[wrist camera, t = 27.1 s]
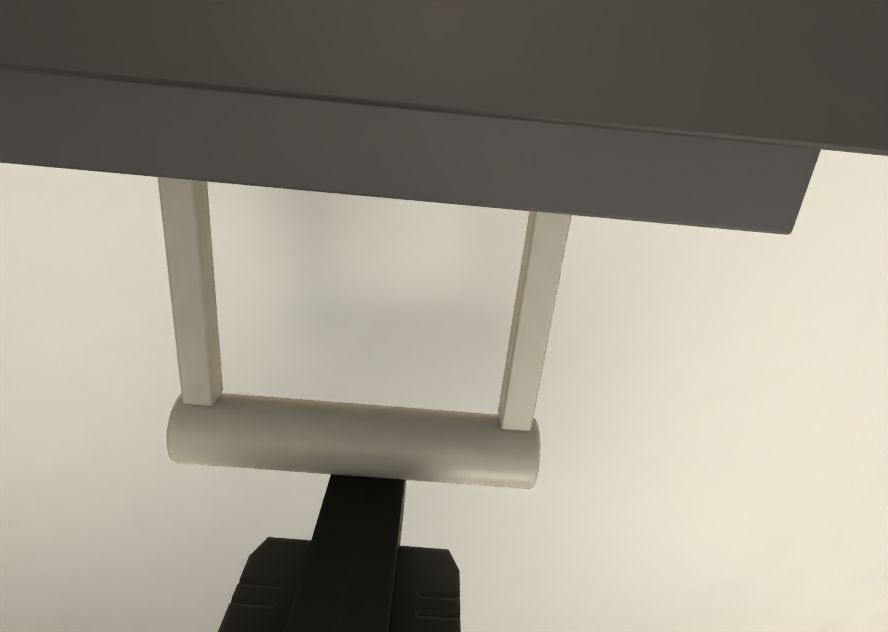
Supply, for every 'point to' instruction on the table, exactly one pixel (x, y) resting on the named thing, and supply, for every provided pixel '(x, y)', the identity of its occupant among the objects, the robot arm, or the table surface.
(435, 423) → the drawer
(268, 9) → the cabinet
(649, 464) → the table surface
